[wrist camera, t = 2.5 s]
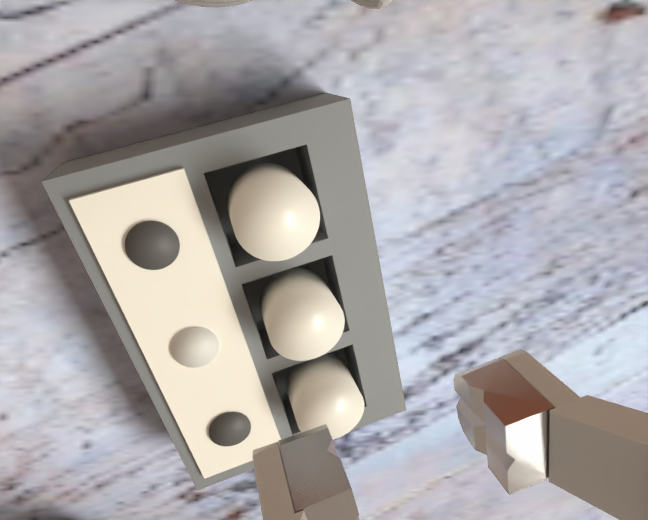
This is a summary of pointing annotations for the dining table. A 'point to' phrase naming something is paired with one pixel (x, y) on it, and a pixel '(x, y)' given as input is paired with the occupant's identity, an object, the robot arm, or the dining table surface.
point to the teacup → (221, 0)
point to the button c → (324, 395)
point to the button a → (272, 212)
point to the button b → (301, 314)
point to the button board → (227, 274)
